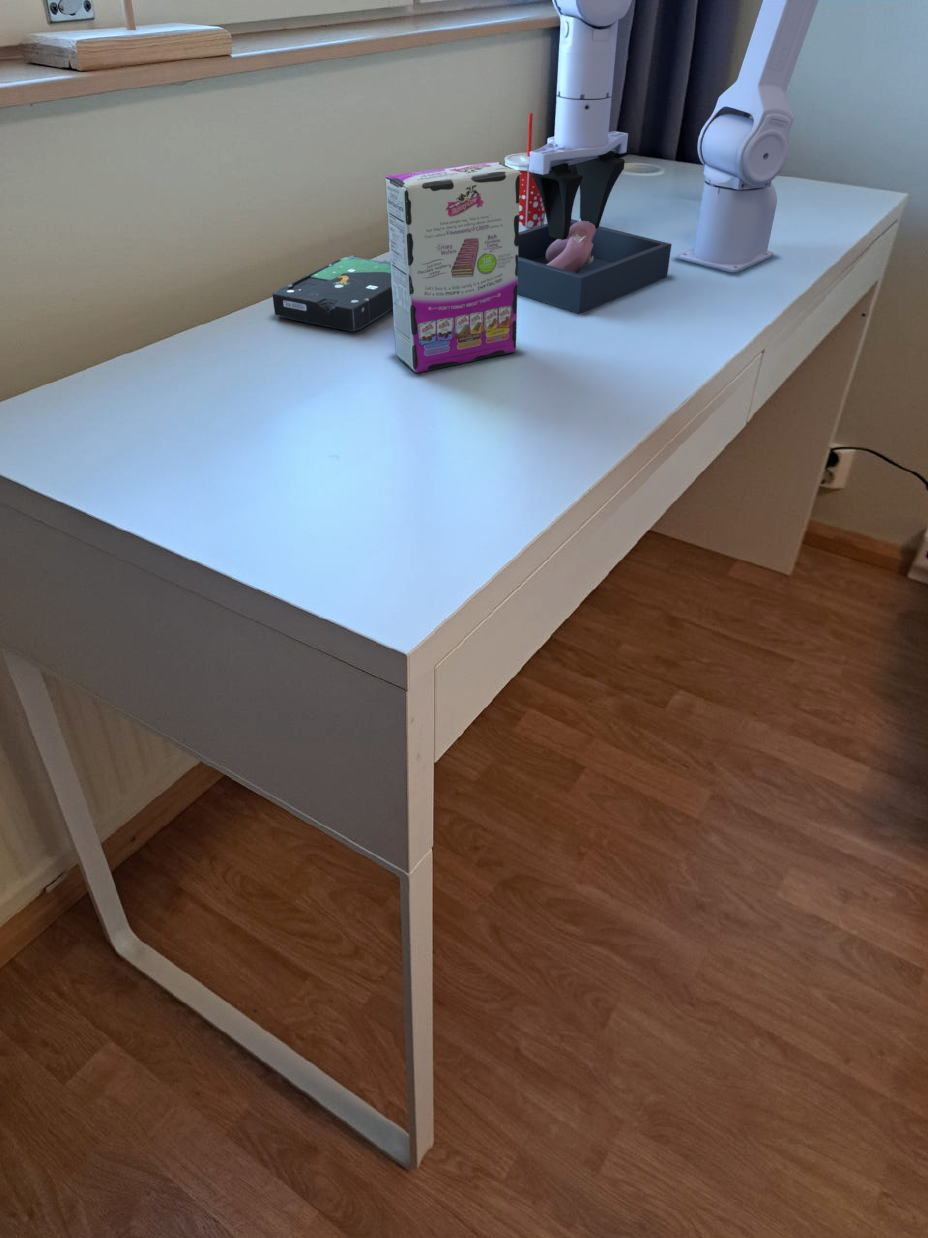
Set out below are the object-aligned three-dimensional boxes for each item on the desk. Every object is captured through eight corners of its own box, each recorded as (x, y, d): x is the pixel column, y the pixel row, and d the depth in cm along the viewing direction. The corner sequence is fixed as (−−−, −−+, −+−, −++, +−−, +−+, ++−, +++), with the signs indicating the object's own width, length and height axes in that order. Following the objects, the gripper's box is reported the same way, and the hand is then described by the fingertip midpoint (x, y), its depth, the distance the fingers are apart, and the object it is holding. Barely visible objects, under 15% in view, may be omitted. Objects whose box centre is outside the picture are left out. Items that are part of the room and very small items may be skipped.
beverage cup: (549, 226, 124) (556, 109, 115) (548, 239, 119) (555, 118, 110) (504, 224, 124) (507, 108, 115) (501, 238, 119) (504, 117, 111)
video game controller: (569, 303, 103) (602, 247, 98) (534, 283, 102) (565, 225, 98) (575, 275, 110) (606, 221, 106) (542, 256, 110) (572, 201, 105)
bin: (563, 249, 116) (565, 217, 113) (667, 277, 107) (671, 243, 105) (473, 280, 106) (473, 246, 104) (579, 313, 98) (582, 277, 96)
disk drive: (357, 336, 93) (426, 290, 104) (355, 309, 91) (425, 264, 102) (273, 319, 97) (348, 276, 107) (269, 292, 95) (346, 251, 105)
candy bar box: (492, 336, 93) (496, 158, 83) (517, 353, 89) (524, 170, 79) (391, 356, 89) (382, 172, 79) (413, 374, 85) (407, 185, 75)
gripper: (596, 82, 101) (585, 212, 110) (508, 99, 93) (505, 238, 102) (648, 90, 98) (634, 224, 106) (562, 108, 89) (554, 251, 98)
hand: (574, 232), depth 104 cm, fingers closed on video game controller, 5 cm apart
